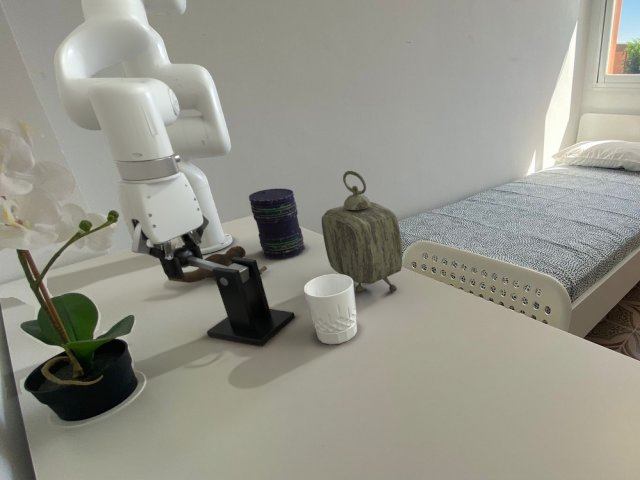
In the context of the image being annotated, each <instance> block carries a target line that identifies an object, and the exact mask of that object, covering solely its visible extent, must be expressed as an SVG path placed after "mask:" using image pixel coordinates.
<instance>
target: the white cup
mask: <svg viewBox="0 0 640 480" xmlns="http://www.w3.org/2000/svg"><path fill="white" fill-rule="evenodd" d="M303 293H304V296H305V299H306V304H307V307H308V310H309V314H310V317H311V320H312V323H313V326H314V328H315V332H316V336H317V339H318V340H319V341H320V342H321V343H323V344H327V345H339V344H344V343H345V342H348V341H350V340H351V339H352V338H354V337H355V336H356V334H357V332H358V326H357V306H356V305H357V304H356V296H355V287H354V281H353V280H352V278H351V277H349V276H347V275H343V274H339V273H331V274H329V273H328V274H324V275H323V274H322V275H320V276H317V277H314V278H312V279H310V280H308V281H307V282H306V283H305V285H304V286H303Z"/></svg>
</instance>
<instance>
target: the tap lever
mask: <svg viewBox="0 0 640 480" xmlns="http://www.w3.org/2000/svg"><path fill="white" fill-rule="evenodd" d="M172 251H173V257H177V258H178V259H179V262H180V265H181V267H182V269H186V268H188V267H191V266H190V265H194V266H198V267H197V268H199V267H201V268H205V269H208V270H211V271H212V269H214V268H216V267H221V268H228V269H236V270H239V272H240V275H241V279H242V282H243V283H244V282H246V281H247V280H249V279H250V276H249V269H248V267H246V266H243V265H239V264H236V263H233V264H232V265H230V266H228V267H227V266H224V265H220V264H217V263H213V262H210V261H206V260H204V258H203V259H199V258H196V257H194V254H193V252H192V251H191V250H189V249H187V248H184V247H179V248H174V249H172Z"/></svg>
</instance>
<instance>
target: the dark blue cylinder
mask: <svg viewBox="0 0 640 480" xmlns="http://www.w3.org/2000/svg"><path fill="white" fill-rule="evenodd" d="M294 194H295V193H294V191H293V190H292V189H290V188H269V189H262V190H258V191H255V192H252V193H251V194H249V195H248V200H249V204H250V209H251V213H252V217H253V219H254V221H255V222H256V227H257V230H258V239H259V244H260V247H261V250H262V252H263V253H262V254H263V256H264V257H263V258H265V259H268V260H275V261H276V260H277V261H279V260H288V259H291V258H294V257H297V256H299V255H301V254H303V253H304V252H305V250H306V248H305V247H306V246H305V244H304V243H305V242H304V235H303V232H302V228H301V227H300V224H299V218H298V214H299V213H298V209H297V206H298V205H297V202H296V199H295V197H294V196H295V195H294Z"/></svg>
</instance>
